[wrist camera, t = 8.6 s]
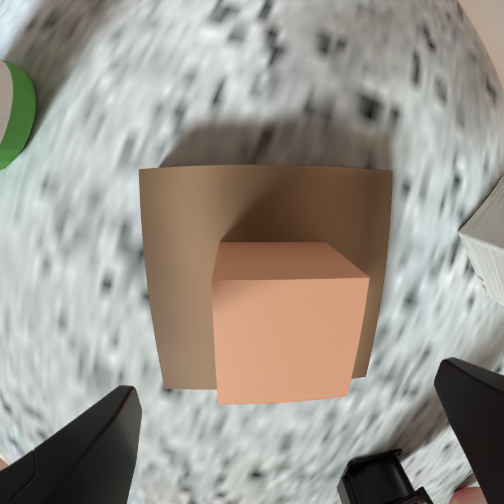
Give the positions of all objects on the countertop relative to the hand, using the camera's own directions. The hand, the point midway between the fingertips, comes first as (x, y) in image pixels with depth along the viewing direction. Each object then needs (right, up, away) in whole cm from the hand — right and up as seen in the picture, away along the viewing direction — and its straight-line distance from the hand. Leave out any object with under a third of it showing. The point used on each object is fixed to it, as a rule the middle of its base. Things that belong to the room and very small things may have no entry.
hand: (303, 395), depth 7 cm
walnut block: (-1, +3, +11) cm, 12 cm away
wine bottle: (-19, +13, +7) cm, 24 cm away
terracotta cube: (0, +2, +7) cm, 8 cm away
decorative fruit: (+38, -41, +25) cm, 61 cm away
